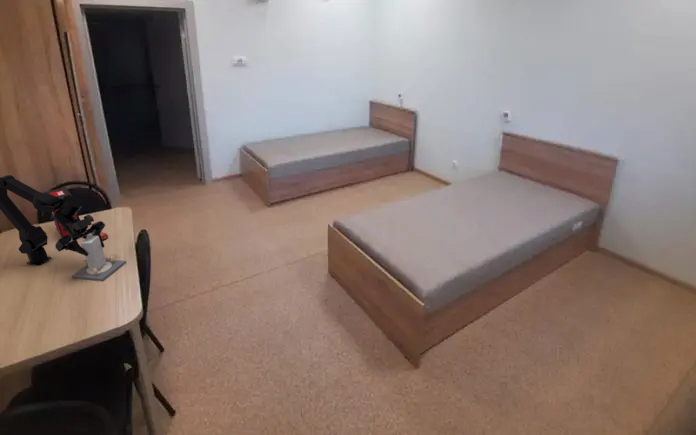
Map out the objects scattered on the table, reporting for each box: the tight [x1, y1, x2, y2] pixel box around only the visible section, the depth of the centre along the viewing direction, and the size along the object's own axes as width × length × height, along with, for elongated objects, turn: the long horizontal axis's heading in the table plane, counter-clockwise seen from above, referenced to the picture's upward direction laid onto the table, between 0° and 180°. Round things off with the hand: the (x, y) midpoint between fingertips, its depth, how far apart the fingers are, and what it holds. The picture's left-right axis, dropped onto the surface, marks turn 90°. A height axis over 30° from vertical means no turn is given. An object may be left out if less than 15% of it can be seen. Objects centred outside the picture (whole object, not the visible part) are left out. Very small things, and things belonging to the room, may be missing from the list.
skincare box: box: [80, 236, 107, 268], centre depth 162 cm, size 6×4×12 cm
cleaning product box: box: [43, 187, 81, 238], centre depth 193 cm, size 16×9×20 cm, turn 43°
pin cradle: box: [70, 255, 127, 282], centre depth 164 cm, size 14×14×4 cm
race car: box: [82, 231, 109, 241], centre depth 191 cm, size 13×5×4 cm, turn 69°
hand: (95, 251), depth 161 cm, fingers closed on skincare box, 7 cm apart
